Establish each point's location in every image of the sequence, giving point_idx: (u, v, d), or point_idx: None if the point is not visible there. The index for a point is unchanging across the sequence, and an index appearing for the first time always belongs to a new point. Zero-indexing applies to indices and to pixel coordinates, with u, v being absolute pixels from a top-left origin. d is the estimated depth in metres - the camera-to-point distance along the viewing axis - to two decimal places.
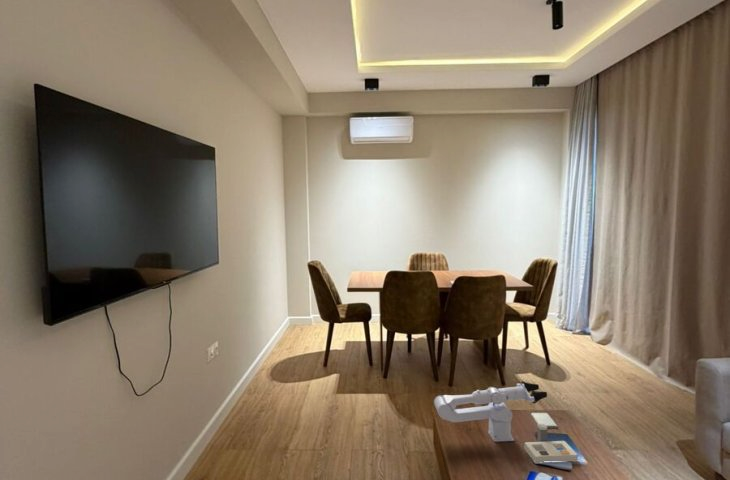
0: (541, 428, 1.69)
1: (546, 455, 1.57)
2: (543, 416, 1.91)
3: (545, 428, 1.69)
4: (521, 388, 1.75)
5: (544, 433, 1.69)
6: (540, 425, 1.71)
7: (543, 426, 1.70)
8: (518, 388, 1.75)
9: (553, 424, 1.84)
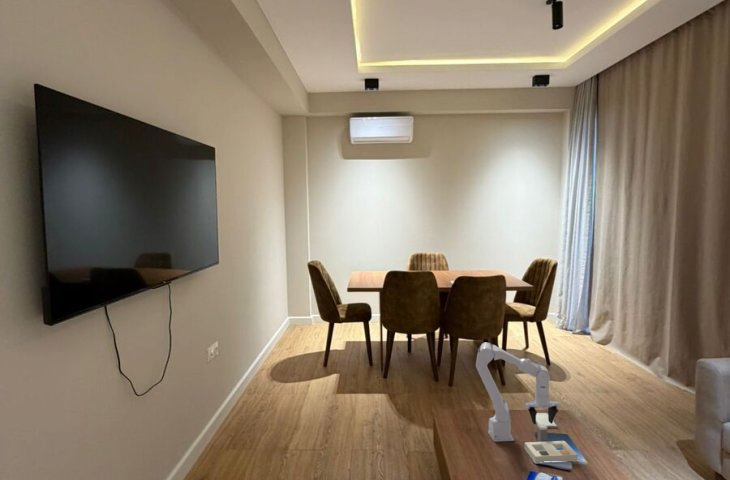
0: (541, 428, 1.69)
1: (546, 455, 1.57)
2: (542, 416, 1.91)
3: (545, 428, 1.69)
4: (542, 403, 1.68)
5: (544, 433, 1.69)
6: (540, 425, 1.71)
7: (543, 426, 1.70)
8: (543, 400, 1.67)
9: (553, 424, 1.84)
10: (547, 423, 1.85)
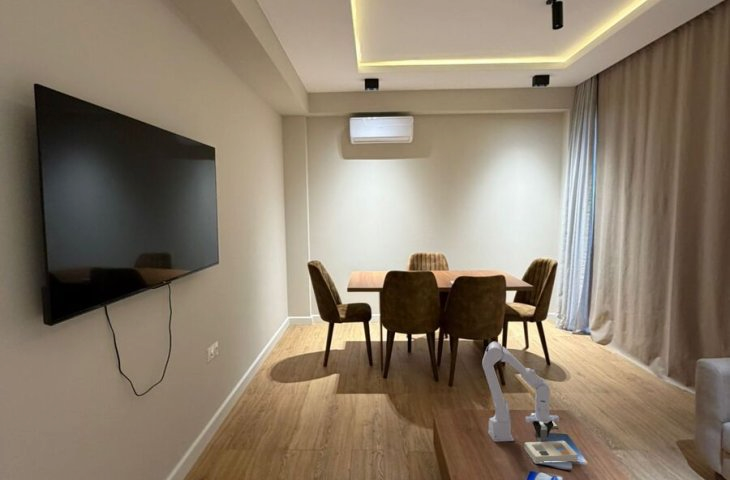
0: (541, 428, 1.69)
1: (546, 455, 1.57)
2: None
3: (545, 428, 1.69)
4: (542, 417, 1.68)
5: (544, 433, 1.69)
6: None
7: (543, 426, 1.70)
8: (543, 415, 1.68)
9: None
10: None
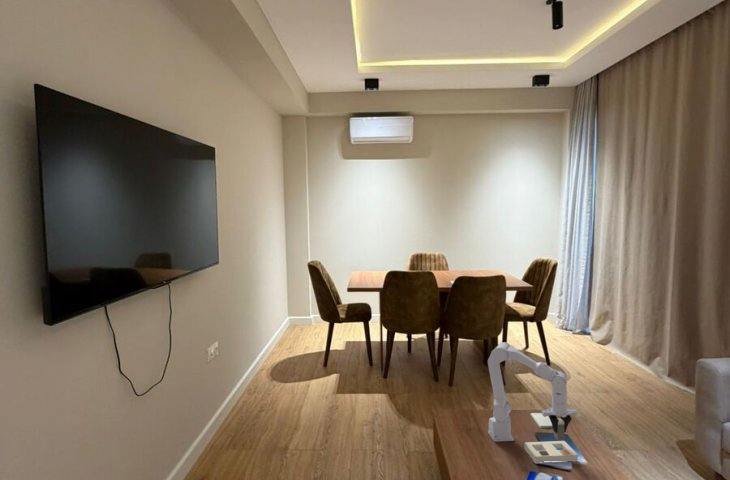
0: (558, 423, 1.61)
1: (546, 455, 1.57)
2: (542, 417, 1.91)
3: (562, 423, 1.61)
4: (560, 411, 1.60)
5: (561, 428, 1.61)
6: None
7: (560, 421, 1.62)
8: (560, 408, 1.60)
9: None
10: (547, 423, 1.85)
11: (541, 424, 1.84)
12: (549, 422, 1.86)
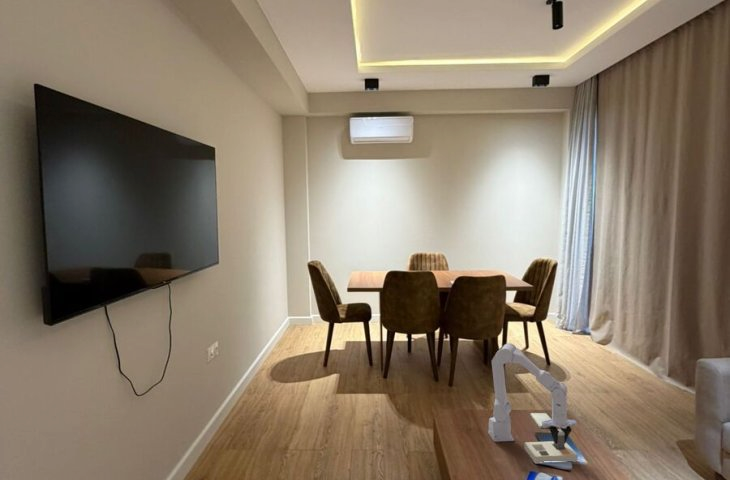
0: (558, 434, 1.62)
1: (546, 455, 1.57)
2: (542, 417, 1.91)
3: (562, 434, 1.61)
4: (560, 422, 1.60)
5: (561, 439, 1.62)
6: None
7: (560, 432, 1.62)
8: (560, 419, 1.60)
9: None
10: None
11: (541, 424, 1.84)
12: None
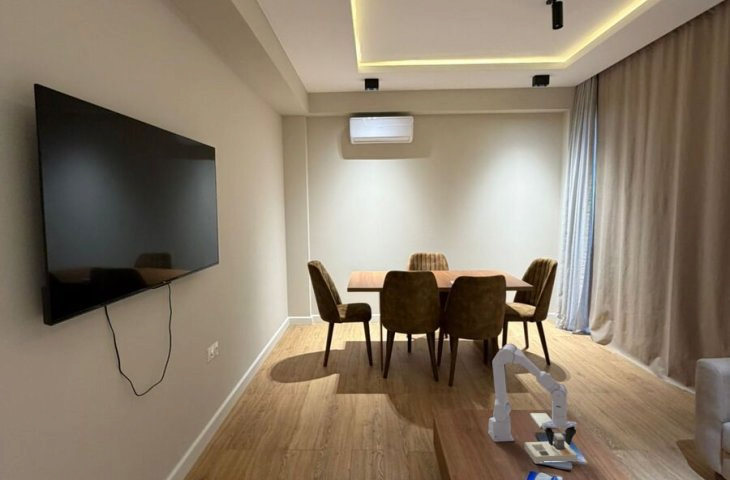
0: (558, 438, 1.62)
1: (546, 455, 1.57)
2: (542, 417, 1.91)
3: (562, 438, 1.62)
4: (560, 424, 1.60)
5: (561, 443, 1.62)
6: (557, 434, 1.63)
7: (560, 436, 1.62)
8: (560, 421, 1.60)
9: None
10: None
11: (541, 424, 1.84)
12: None
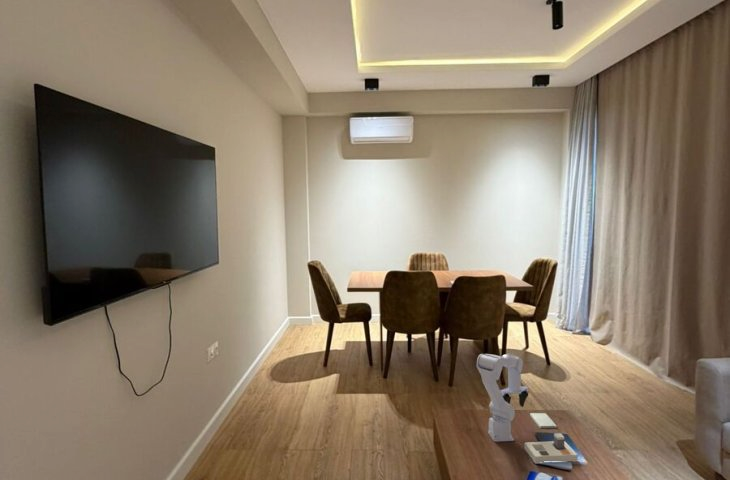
0: (558, 438, 1.62)
1: (546, 455, 1.57)
2: (542, 417, 1.91)
3: (562, 438, 1.62)
4: (515, 389, 1.82)
5: (561, 443, 1.62)
6: (557, 434, 1.63)
7: (560, 436, 1.62)
8: (516, 386, 1.82)
9: (553, 424, 1.84)
10: (547, 423, 1.85)
11: (541, 424, 1.84)
12: (549, 422, 1.86)
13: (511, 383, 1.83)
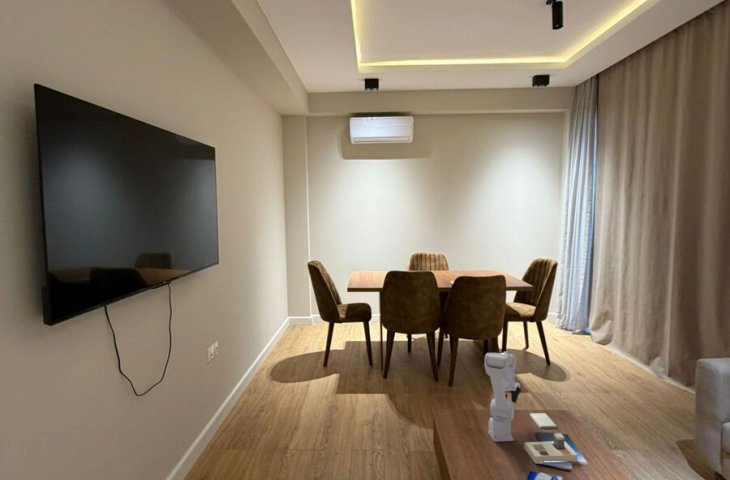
0: (558, 438, 1.62)
1: (546, 455, 1.57)
2: (541, 417, 1.91)
3: (562, 438, 1.62)
4: (511, 386, 1.85)
5: (561, 443, 1.62)
6: (557, 434, 1.63)
7: (560, 436, 1.62)
8: (511, 384, 1.85)
9: (552, 424, 1.84)
10: (546, 423, 1.85)
11: (541, 424, 1.84)
12: (549, 422, 1.86)
13: (506, 381, 1.86)
